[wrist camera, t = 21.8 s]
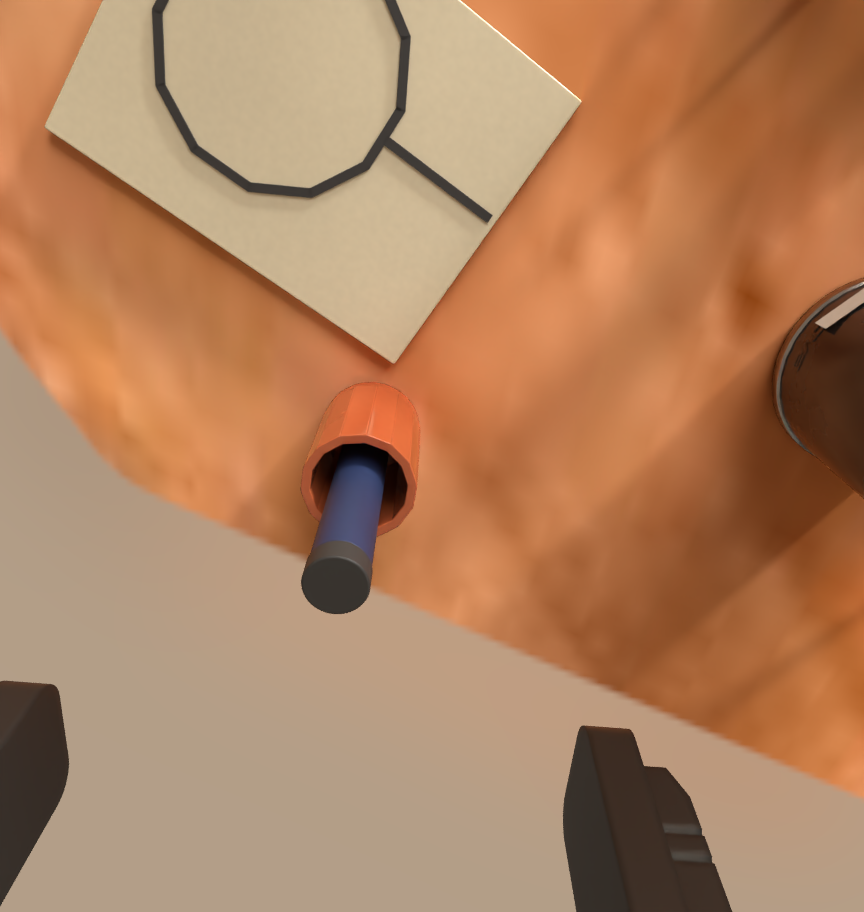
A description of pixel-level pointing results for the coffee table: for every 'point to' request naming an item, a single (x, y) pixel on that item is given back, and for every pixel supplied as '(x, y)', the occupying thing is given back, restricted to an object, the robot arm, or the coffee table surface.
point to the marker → (347, 532)
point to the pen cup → (375, 423)
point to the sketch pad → (319, 139)
